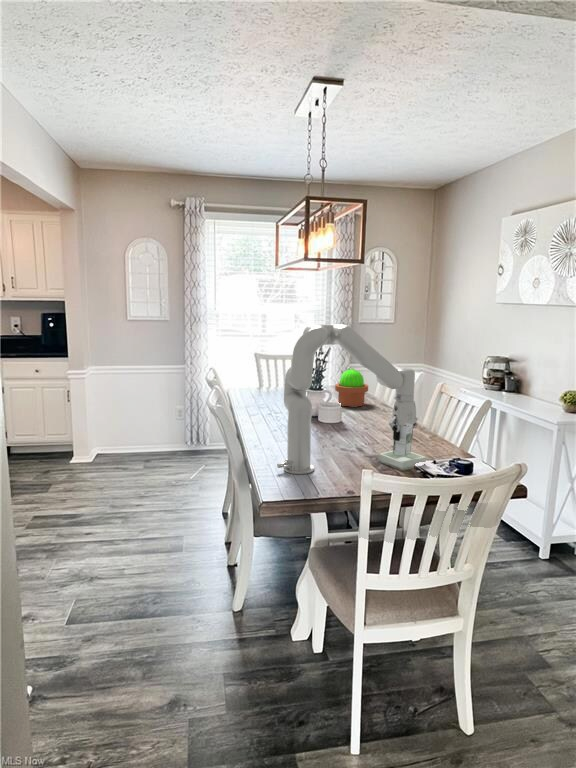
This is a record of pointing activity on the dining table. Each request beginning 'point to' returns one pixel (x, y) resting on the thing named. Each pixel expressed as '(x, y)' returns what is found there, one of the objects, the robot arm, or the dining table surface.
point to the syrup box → (403, 440)
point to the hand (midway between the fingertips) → (402, 438)
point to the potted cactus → (351, 388)
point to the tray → (401, 460)
